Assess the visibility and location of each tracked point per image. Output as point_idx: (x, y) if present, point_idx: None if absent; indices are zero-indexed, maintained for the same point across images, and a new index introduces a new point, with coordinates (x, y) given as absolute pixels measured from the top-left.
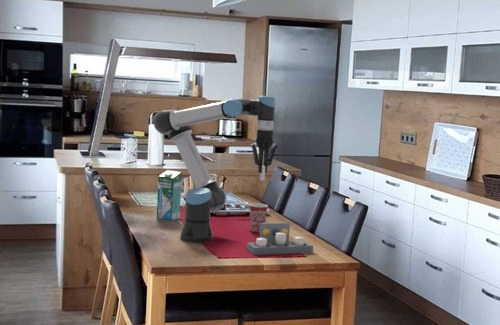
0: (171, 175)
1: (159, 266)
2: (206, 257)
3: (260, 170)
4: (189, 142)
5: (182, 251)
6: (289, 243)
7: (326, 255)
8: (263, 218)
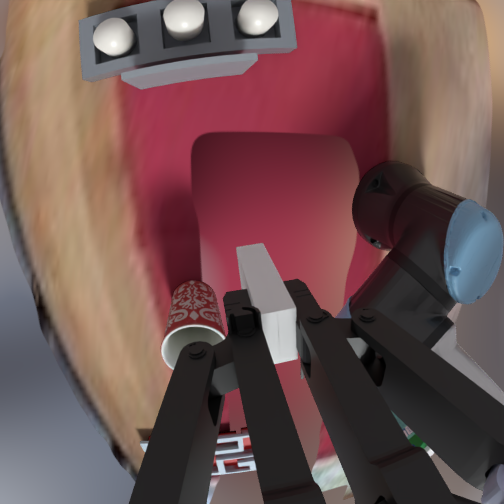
0: (425, 447)
1: (476, 5)
2: (401, 24)
3: (297, 292)
4: None
5: (440, 87)
6: (147, 36)
7: (52, 27)
8: (179, 306)
